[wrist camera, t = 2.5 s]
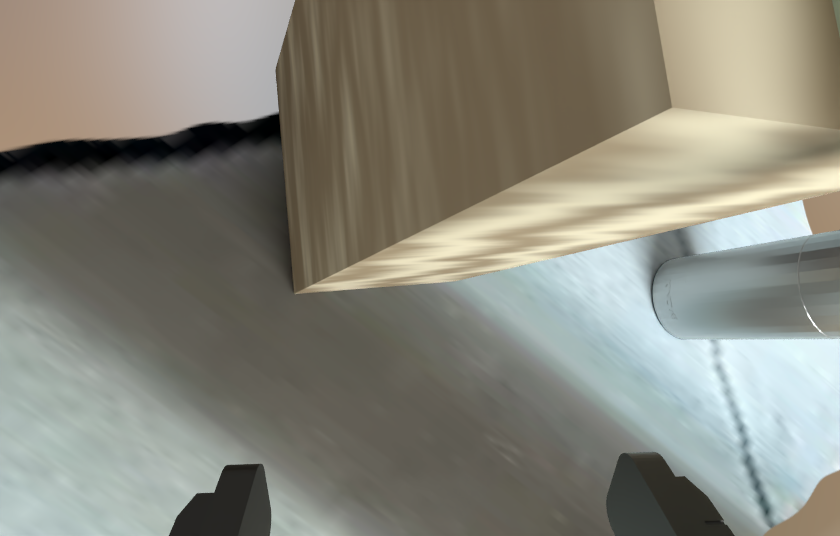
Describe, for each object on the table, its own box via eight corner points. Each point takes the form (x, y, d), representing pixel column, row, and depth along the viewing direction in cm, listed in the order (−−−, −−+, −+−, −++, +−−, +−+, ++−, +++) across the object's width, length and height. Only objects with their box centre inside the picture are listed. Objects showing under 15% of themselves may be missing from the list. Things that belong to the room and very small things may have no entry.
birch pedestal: (431, 88, 44) (873, -390, 15) (454, 281, 42) (1006, 151, 13) (275, 69, 38) (519, -782, 9) (294, 293, 36) (671, 107, 7)
